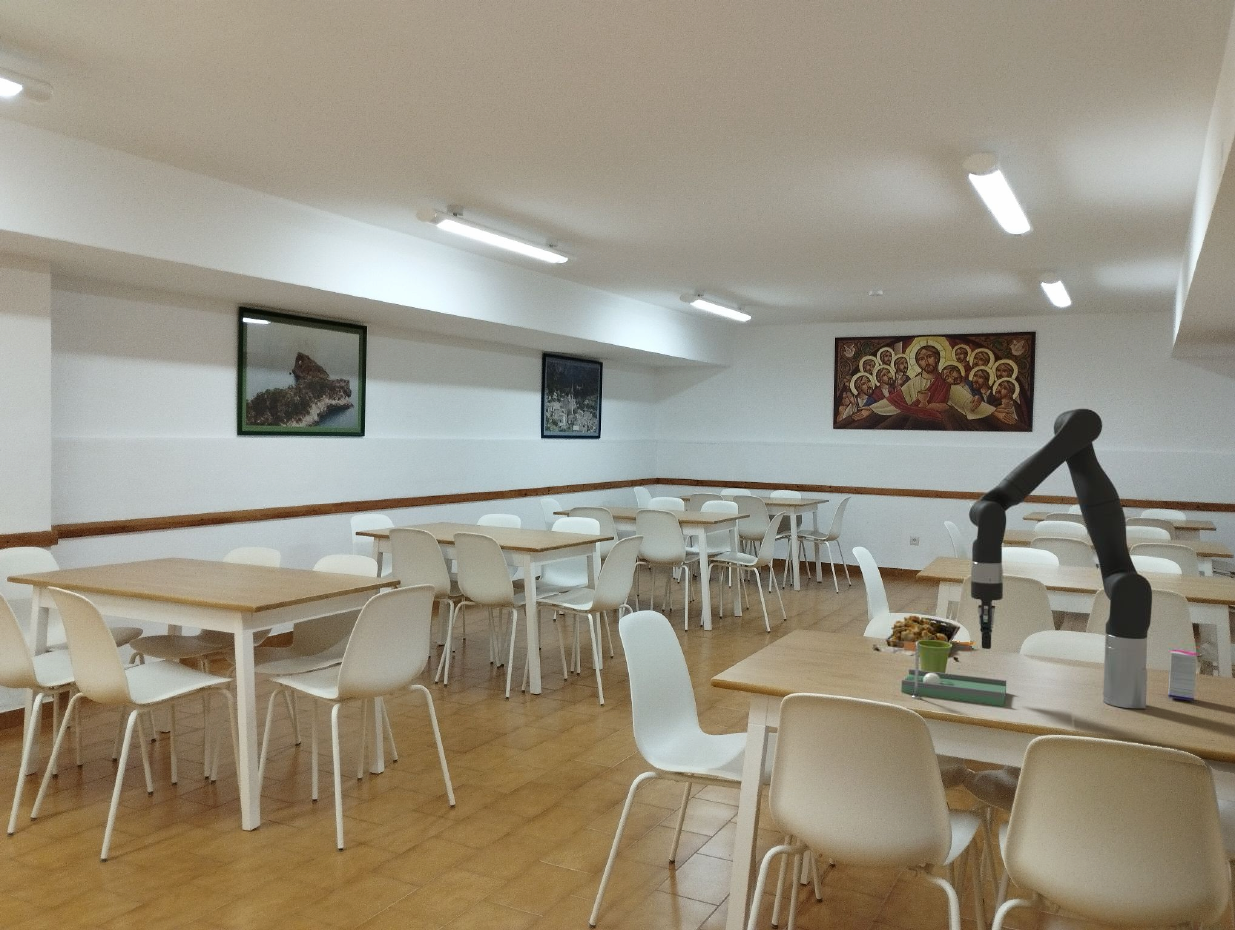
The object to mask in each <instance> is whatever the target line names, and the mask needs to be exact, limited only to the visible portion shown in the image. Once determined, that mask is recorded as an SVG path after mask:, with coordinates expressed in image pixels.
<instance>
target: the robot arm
mask: <svg viewBox="0 0 1235 930" xmlns="http://www.w3.org/2000/svg"><path fill="white" fill-rule="evenodd" d="M1102 430H1103V422H1102V419H1101V416H1100V415H1099V414H1098V413H1097V412H1096V411H1095V410H1092V409H1089V408H1076V409H1071V410H1067V411H1064V412H1062V413H1060V414H1059V415H1058V416H1057V417H1056V418H1055V421H1054V423H1053V434H1054V436H1053V437H1052V438H1051V439H1050V440H1049V441H1047V443H1046V444H1045V445H1044V446H1042V447H1041V448H1040V449H1038V450H1037V451H1036V452H1035V453H1033V454H1031V455H1030V456H1029V457H1027V458H1026V459H1025V460H1024V461H1022V462H1020V464H1018V465H1017V466H1016V467H1015V468H1014V469H1012V471H1011V472H1009V473H1008V474H1007V475H1006V476H1005V477H1004V478H1003V479H1002V480H1001V481H1000V482H999V483H998V484H997V485H996V486H995V487H993V488H991V489H990V490H989V491H987V492H986V493H984V495H982V496H980V497H979V498H978V499H977V500H976V501H974V503H973V504H972V505H971V507H970V508H969V513H968V516H969V520H970V522H971V523H972V525H974V526H975V527H977V535H976V538H975V539H974V541H973V542H972V547H971V548H972V550H971V553H972V555H971V559H972V560H971V561H972V562H971V568H970V596H971V598H972V599H975V600H980V601H981V604H978V606H977V613H978V617H979V618H978V624H979V625H980V630H979V631H980V633H981V648H982V649H985V650H987V649H988V650H991V647H992V634H993V627H994V623H995V613H996V605H993V601H1000V600H1003V598H1004V597H1003V596H1004V592H1003V591H1004V570H1003V569H1004V568H1003V542H1004V539H1005V538H1004V537H1005V533H1006V528H1007V513H1006V511H1008V510H1009V509H1011V508H1012V507H1014V506H1017V505H1019V504H1021V503H1022V502H1023V501H1024V500H1026V498H1028V497H1029V496H1030V495H1031V493H1033V491H1035V490H1036V489H1037V488H1038V487H1039V486H1040V485H1041V484H1042V483H1043V482H1044V481H1046V479H1047V478H1048V477H1049V476H1051V474H1053V472H1055V471H1056V470H1057V469H1058V468H1059V467H1060V466H1061V465H1063V464H1064V463H1065V462H1066V465H1067V467H1068V471H1069V474H1070V478H1071V482H1072V485H1073V488H1074V492H1075V495H1076V498H1077V502H1078V507H1079V509H1080V512H1081V515H1082V518H1083V521H1084V525H1085V527H1086V530H1087V533H1088V536H1089V538H1090V541H1091V543H1092V546H1093V548H1094V551H1095V553H1096V556H1097V560H1098V563H1099V569H1100V575H1101V579H1102V585H1103V589H1104V592H1105V596H1106V597H1107V599H1108V600H1109V601H1110V602H1109V603H1110V604H1109V617H1108V620H1107V621H1106V623H1105V631H1104V632H1105V633H1104V634H1105V637H1104V638H1105V639H1104V661H1103V664H1104V665H1103V687H1102V688H1103V691H1102V702H1103V703H1105V704H1108V705H1110V706H1113V707H1120V708H1125V709H1147V705H1146V704H1147V685H1148V684H1147V681H1148V670H1147V657H1148V656H1147V655H1148V631H1149V628H1150V626H1151V622H1152V621H1151V620H1152V608H1153V607H1152V606H1153V605H1152V604H1153V590H1152V586H1151V583H1150V581H1149V580H1148V579H1147V578H1146V577H1145V576H1143V575H1141V574H1139V573H1138V571H1137V570H1136V567H1135V564H1134V563H1133V560H1132V557H1131V555H1130V551H1129V549H1128V548H1129V547H1128V544H1127V522H1126V516H1125V512H1124V508H1123V505H1122V503H1121V499H1120V496H1119V493H1118V491H1117V488H1116V487H1115V485H1114V484H1113V482H1112V481H1111V479H1110V478H1109V476H1108V475H1107V473H1106V471H1105V470H1104V469H1103V467H1102V466H1101V463H1100V462H1099V460H1098V458H1097V455H1096V452H1095V447H1094V444H1093V442H1095V441H1096V440H1097V439H1098V438H1099V437H1100V436H1101V434H1102V433H1101V432H1102Z"/></svg>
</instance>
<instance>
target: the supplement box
mask: <svg viewBox="0 0 1235 930" xmlns="http://www.w3.org/2000/svg"><path fill="white" fill-rule="evenodd" d="M1197 656H1198V655H1197V652H1195V651H1189V650H1188V651H1187V650H1179V649H1173V648H1172V649H1171V651H1170V662H1169V664H1170V665H1169V676H1168V678H1169V679H1168V692H1167V693H1168V694H1167V695H1168V696H1167V697H1168V698H1173V699H1181V700H1188V701H1194V700H1195V694H1196V693H1195V691H1196V690H1195V689H1196V679H1197V678H1196V676H1197V663H1198V662H1197V660H1198V658H1197Z"/></svg>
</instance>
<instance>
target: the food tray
mask: <svg viewBox="0 0 1235 930" xmlns="http://www.w3.org/2000/svg"><path fill="white" fill-rule="evenodd" d="M890 629H891V630H892V633H891V634H889V636H887V637H886V638H885V641H886V644H887V646H886V645H885V646H882V645H880V646H879V645H878V644H877V643H876V642H875V643H873V644H872V649H873V650H877V649H879V650H878V651H881V650H882V652H887V653H893V654H902V655H907V656H916V651H906V650H904V641H906V642H917V641H921V640H935V641H942V642H947V643H950V644H952V645H954V646H957V645H958V647H960V648H961V646H964V649H966V650H970V648H972V646H973V645H974V643H975V640H970V643H969V642H960V641H959V642H957V641H952V640H953V639H955V636H956V635H957V633H958V632H959V631H960V629H961V626H960V625H958V624H954V623H951V622H950V621H949V622H948V621H945V620H944V621H943V620H941V619H937V618H936V619H935V618H931V617H923V616H922V617H921V618H920V616H917V615H916V614H915V615H914V614H913V615H911V614H910V615H909V616H908V615H907V616H904V617H903V620H896V621H895V622H894V623H893V627H891V628H890ZM960 645H961V646H960ZM874 648H875V649H874ZM950 652H951V653H949V655H948V656H951V654H953V652H952V649H950ZM919 657H920V655H919ZM952 659H953V661H956V662H959V657H958V656H954V657H953V658H952Z"/></svg>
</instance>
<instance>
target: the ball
mask: <svg viewBox="0 0 1235 930" xmlns="http://www.w3.org/2000/svg"><path fill="white" fill-rule="evenodd" d="M923 682H924V683H932V684H941V679H940V677H939V676H938V675H937V674H935V673H928V674H926V675H925V676H924V678H923Z"/></svg>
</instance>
